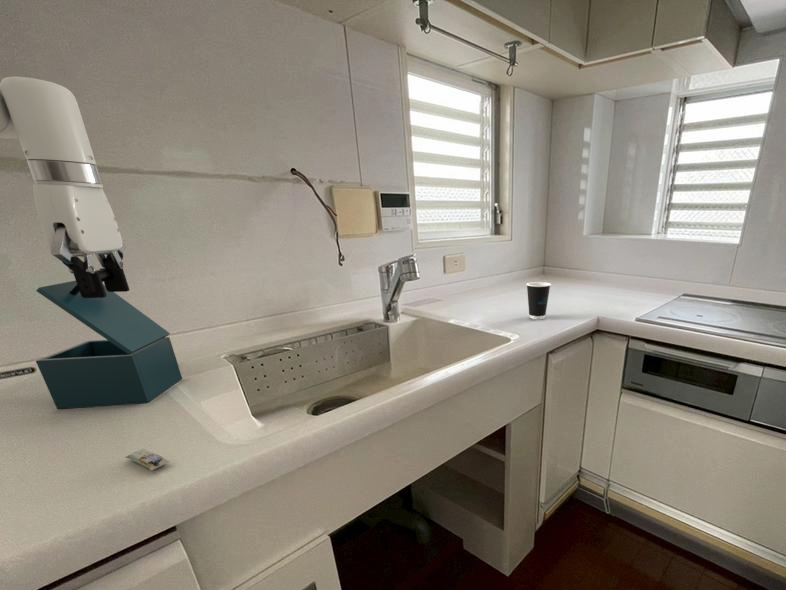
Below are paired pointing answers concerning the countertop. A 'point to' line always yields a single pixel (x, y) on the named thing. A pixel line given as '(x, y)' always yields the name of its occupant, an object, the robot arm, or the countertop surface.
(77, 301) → the teal handled lid
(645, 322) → the countertop surface
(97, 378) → the teal box
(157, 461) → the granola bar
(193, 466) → the countertop surface
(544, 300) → the dixie cup
